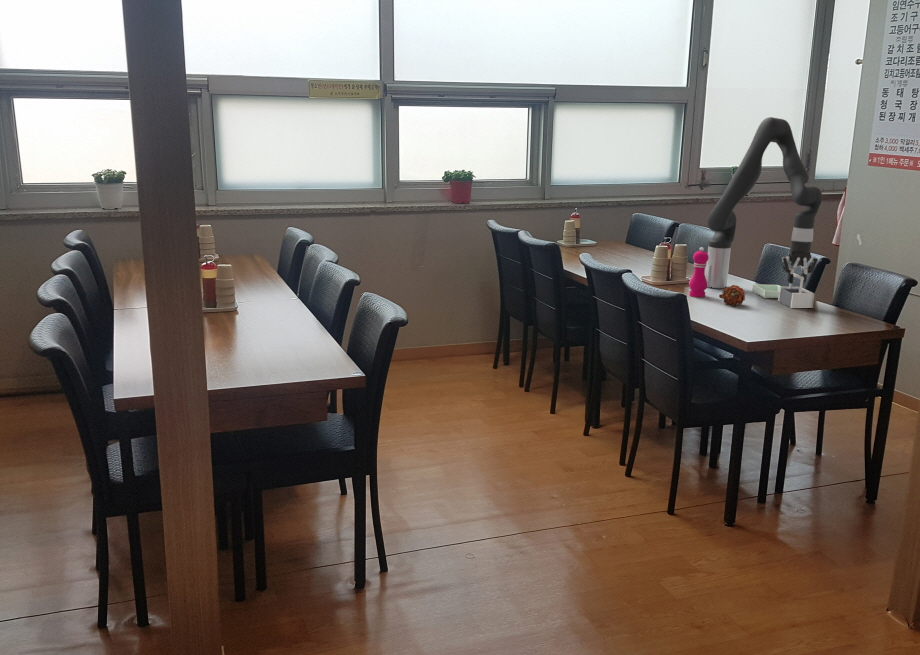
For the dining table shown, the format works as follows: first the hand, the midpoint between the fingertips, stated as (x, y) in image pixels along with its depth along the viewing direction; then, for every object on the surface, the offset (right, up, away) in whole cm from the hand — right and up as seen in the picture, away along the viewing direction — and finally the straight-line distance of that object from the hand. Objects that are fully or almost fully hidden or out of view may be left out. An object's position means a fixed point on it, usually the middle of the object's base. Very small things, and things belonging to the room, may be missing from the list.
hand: (796, 283), depth 311 cm
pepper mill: (-34, -5, +15) cm, 38 cm away
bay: (0, -8, +2) cm, 9 cm away
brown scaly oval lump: (-25, -9, +1) cm, 26 cm away
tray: (-2, -4, +20) cm, 20 cm away
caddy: (0, -8, +2) cm, 9 cm away
